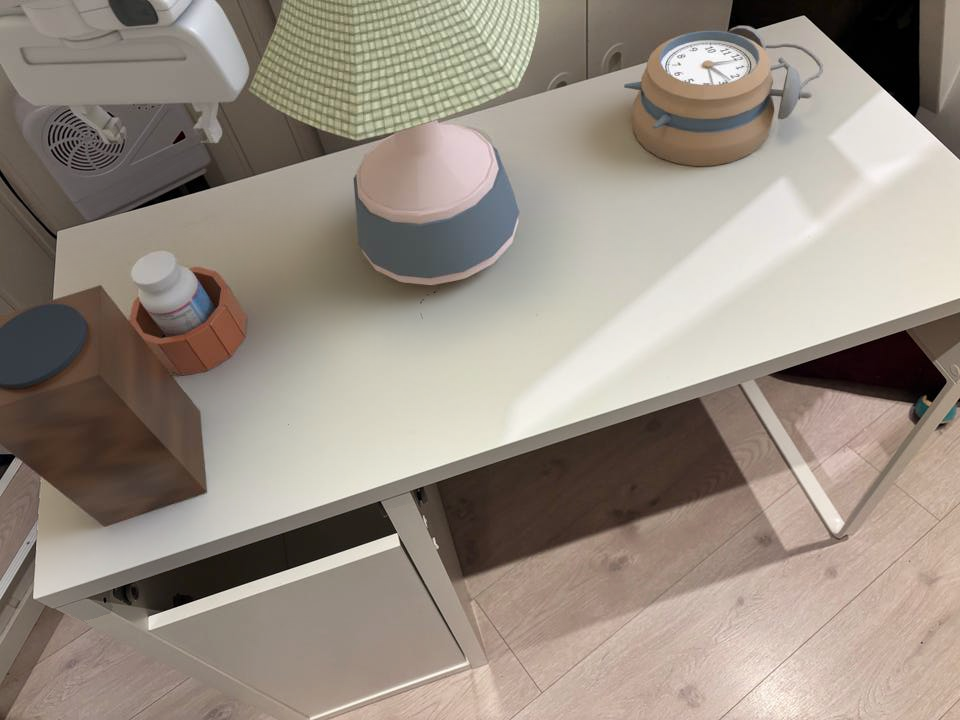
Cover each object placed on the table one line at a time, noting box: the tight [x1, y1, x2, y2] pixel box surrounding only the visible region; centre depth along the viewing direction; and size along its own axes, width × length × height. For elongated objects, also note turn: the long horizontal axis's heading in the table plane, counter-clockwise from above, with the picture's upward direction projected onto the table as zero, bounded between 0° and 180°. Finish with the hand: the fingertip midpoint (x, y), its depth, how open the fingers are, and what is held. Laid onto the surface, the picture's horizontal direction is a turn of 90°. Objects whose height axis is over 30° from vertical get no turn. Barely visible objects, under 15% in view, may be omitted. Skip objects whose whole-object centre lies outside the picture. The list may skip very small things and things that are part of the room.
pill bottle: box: [130, 250, 217, 338], centre depth 79 cm, size 6×6×11 cm
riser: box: [0, 284, 208, 527], centre depth 66 cm, size 10×10×19 cm
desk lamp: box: [248, 0, 540, 286], centre depth 72 cm, size 26×28×42 cm
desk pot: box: [128, 266, 248, 376], centre depth 81 cm, size 11×11×6 cm
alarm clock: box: [623, 25, 824, 167], centre depth 91 cm, size 17×9×23 cm
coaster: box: [0, 304, 87, 389], centre depth 58 cm, size 8×8×1 cm
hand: (164, 139), depth 67 cm, fingers open, 8 cm apart
